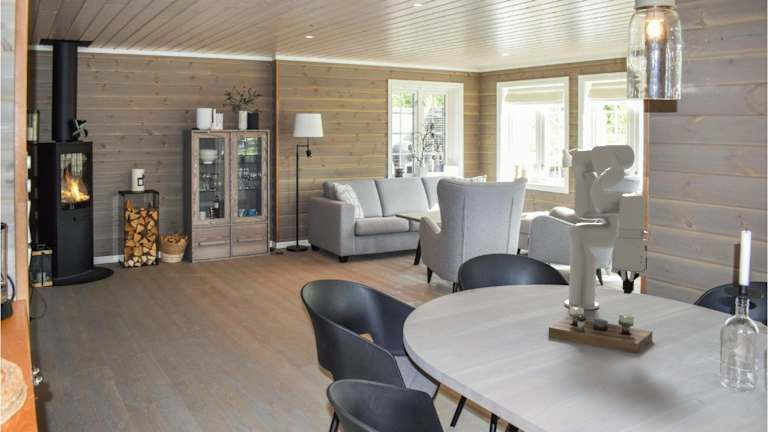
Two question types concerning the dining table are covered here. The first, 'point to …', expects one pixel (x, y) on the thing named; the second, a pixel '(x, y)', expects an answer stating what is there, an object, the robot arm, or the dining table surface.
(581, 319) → the dial post
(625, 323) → the knob sage
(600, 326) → the knob charcoal
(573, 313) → the knob cream
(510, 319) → the dining table surface
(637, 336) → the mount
